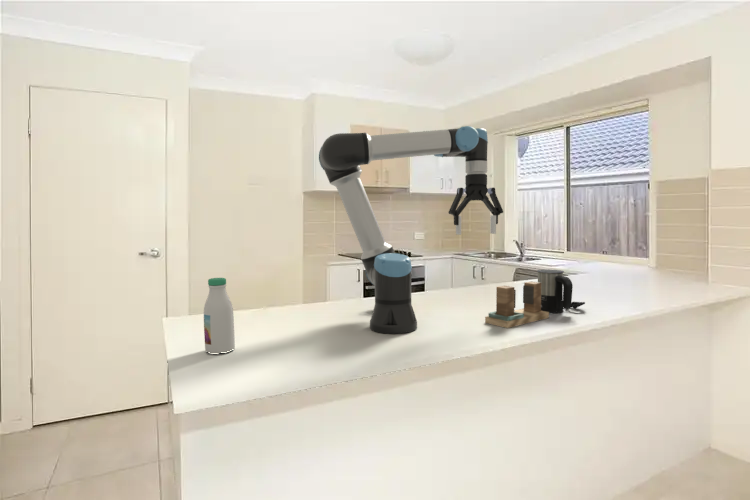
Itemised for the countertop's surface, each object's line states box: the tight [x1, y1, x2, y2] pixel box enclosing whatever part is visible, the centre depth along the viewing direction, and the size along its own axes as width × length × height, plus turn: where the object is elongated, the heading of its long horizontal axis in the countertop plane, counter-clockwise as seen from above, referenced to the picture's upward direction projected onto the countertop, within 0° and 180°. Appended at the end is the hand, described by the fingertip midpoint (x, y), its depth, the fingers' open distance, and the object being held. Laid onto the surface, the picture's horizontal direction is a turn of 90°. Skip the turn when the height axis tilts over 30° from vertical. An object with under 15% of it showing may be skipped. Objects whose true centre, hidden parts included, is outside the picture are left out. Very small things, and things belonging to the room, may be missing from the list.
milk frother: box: [536, 269, 586, 314], centre depth 167 cm, size 14×16×15 cm
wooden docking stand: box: [484, 281, 550, 329], centre depth 153 cm, size 22×9×12 cm, turn 125°
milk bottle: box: [203, 277, 236, 353], centre depth 124 cm, size 8×8×20 cm
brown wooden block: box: [495, 285, 517, 317], centre depth 150 cm, size 5×4×10 cm
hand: (476, 234), depth 163 cm, fingers open, 13 cm apart
